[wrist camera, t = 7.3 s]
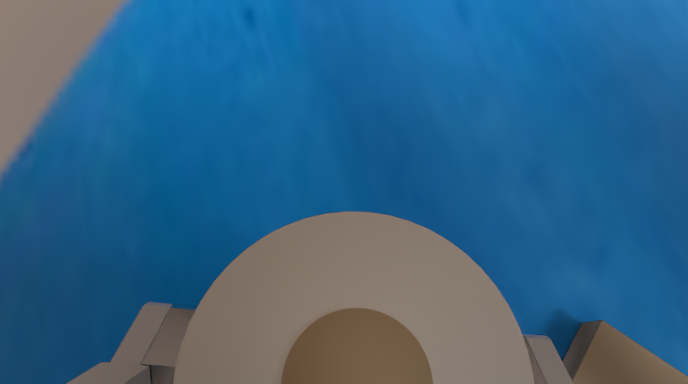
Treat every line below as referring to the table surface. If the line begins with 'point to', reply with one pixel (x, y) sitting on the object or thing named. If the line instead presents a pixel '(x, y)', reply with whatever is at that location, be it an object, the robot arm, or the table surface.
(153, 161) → the table surface
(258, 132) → the table surface
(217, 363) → the paper roll
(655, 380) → the roll stand
